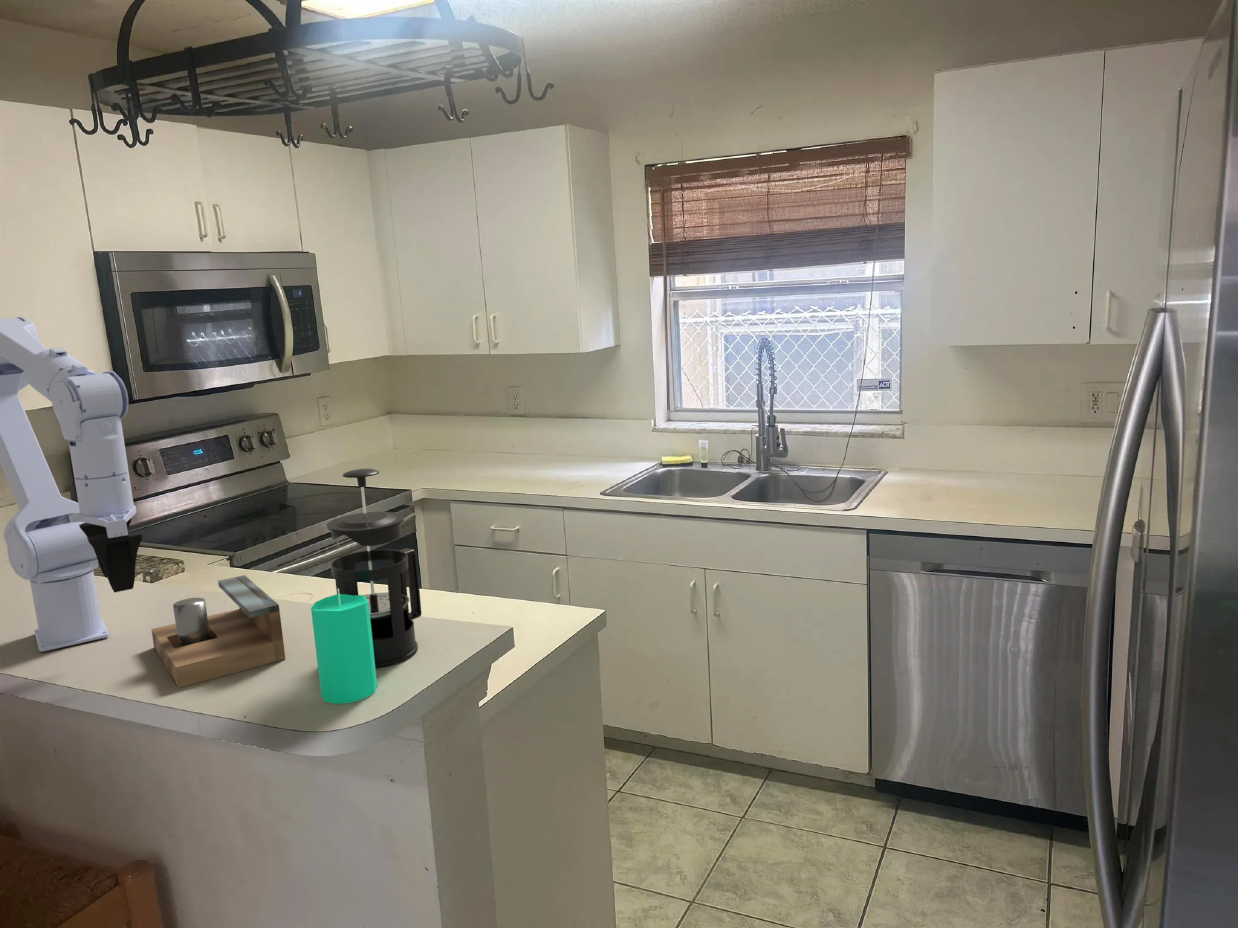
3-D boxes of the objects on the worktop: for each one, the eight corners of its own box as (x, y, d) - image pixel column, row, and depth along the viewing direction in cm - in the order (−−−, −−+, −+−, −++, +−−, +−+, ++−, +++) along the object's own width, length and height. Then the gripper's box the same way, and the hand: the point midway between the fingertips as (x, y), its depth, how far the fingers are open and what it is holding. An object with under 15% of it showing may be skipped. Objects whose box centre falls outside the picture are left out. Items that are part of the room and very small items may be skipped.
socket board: (154, 647, 115) (146, 595, 114) (250, 624, 122) (244, 574, 121) (178, 687, 103) (170, 629, 101) (285, 659, 110) (278, 604, 108)
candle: (361, 705, 96) (350, 598, 94) (310, 702, 97) (298, 597, 95) (386, 681, 102) (376, 580, 100) (338, 678, 103) (327, 579, 101)
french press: (366, 677, 103) (346, 482, 99) (318, 660, 109) (297, 475, 105) (444, 643, 112) (428, 464, 108) (396, 629, 118) (379, 458, 114)
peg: (206, 647, 114) (199, 595, 113) (216, 655, 112) (209, 601, 111) (176, 656, 112) (168, 603, 111) (186, 664, 109) (178, 609, 108)
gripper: (57, 471, 111) (74, 576, 114) (69, 488, 100) (88, 605, 102) (121, 463, 115) (136, 564, 118) (140, 479, 104) (156, 590, 106)
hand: (118, 582), depth 110 cm, fingers open, 7 cm apart
